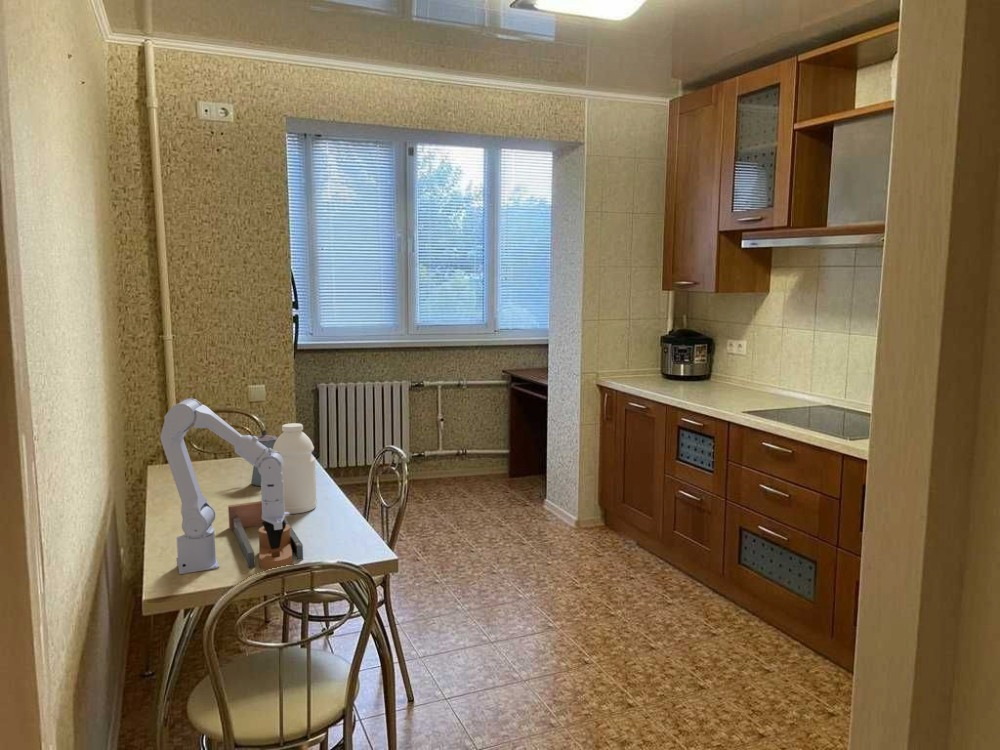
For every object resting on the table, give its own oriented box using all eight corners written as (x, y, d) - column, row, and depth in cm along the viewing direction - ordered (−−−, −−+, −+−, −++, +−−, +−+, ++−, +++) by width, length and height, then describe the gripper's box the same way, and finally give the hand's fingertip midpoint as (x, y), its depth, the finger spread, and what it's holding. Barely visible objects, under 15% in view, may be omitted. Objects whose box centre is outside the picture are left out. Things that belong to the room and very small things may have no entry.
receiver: (244, 568, 192) (243, 542, 191) (228, 527, 224) (227, 505, 223) (306, 558, 199) (305, 533, 198) (282, 520, 231) (282, 498, 230)
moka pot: (276, 487, 267) (274, 433, 265) (237, 486, 270) (234, 432, 267) (288, 480, 276) (286, 428, 274) (249, 479, 279) (247, 427, 276)
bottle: (321, 501, 250) (318, 420, 247) (312, 514, 237) (309, 428, 233) (279, 502, 250) (276, 421, 246) (268, 514, 236) (264, 429, 233)
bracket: (259, 549, 206) (258, 525, 206) (290, 545, 209) (289, 522, 208) (259, 572, 189) (258, 547, 189) (293, 569, 192) (292, 543, 191)
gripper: (293, 503, 189) (295, 554, 191) (283, 489, 202) (285, 537, 204) (265, 507, 186) (267, 558, 188) (256, 492, 199) (259, 541, 201)
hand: (274, 547), depth 196 cm, fingers closed
